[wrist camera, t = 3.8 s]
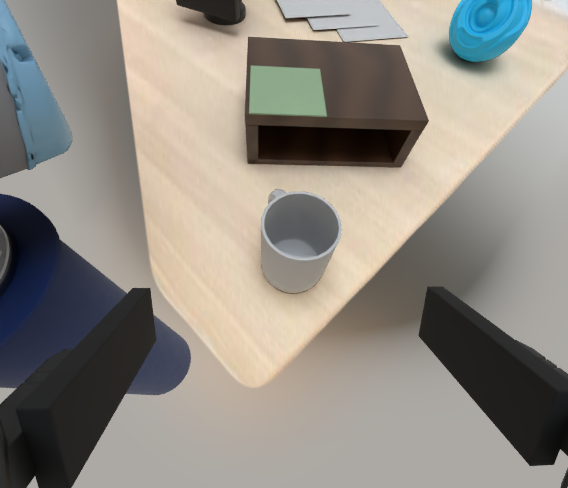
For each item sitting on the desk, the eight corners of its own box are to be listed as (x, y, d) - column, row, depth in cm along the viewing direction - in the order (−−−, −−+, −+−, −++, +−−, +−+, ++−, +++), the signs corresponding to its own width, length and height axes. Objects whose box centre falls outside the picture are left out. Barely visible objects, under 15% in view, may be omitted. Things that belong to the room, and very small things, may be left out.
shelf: (247, 163, 41) (244, 112, 34) (249, 89, 48) (248, 35, 41) (401, 167, 42) (429, 119, 35) (380, 95, 50) (400, 43, 43)
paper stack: (361, -22, 70) (362, -26, 69) (408, 36, 59) (409, 33, 59) (266, -18, 66) (266, -22, 65) (296, 45, 55) (297, 41, 54)
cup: (275, 304, 32) (280, 272, 24) (243, 230, 36) (238, 181, 28) (334, 280, 33) (356, 244, 26) (297, 212, 38) (307, 162, 30)
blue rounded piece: (425, 51, 57) (461, -25, 47) (457, 33, 61) (497, -41, 51) (479, 82, 54) (530, 7, 43) (509, 61, 58) (562, -12, 47)
